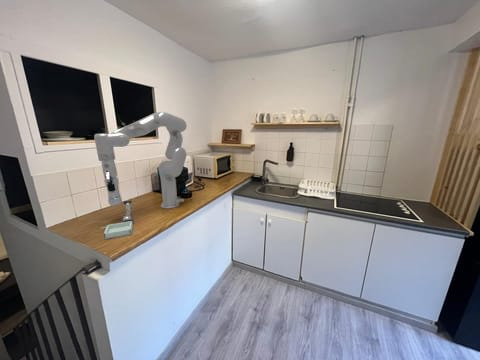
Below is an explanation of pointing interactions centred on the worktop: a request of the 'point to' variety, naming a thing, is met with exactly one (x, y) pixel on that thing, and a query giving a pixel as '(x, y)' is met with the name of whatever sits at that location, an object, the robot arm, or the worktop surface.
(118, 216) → the worktop surface
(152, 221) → the worktop surface
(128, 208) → the crank
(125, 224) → the tray
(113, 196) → the metal bottle
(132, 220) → the crank base
